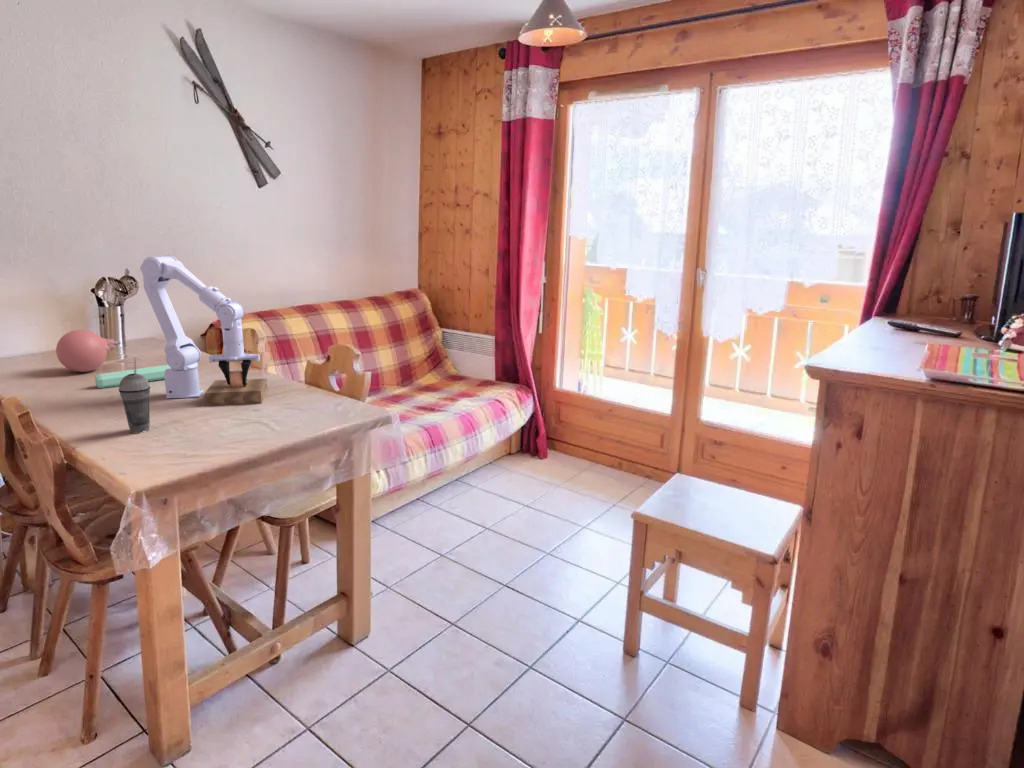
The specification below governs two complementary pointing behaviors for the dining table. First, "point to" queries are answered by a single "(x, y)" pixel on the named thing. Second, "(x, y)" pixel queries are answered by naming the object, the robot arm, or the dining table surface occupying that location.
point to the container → (116, 377)
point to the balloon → (83, 350)
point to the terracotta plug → (236, 379)
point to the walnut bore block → (236, 392)
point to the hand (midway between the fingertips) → (236, 383)
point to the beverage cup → (136, 400)
